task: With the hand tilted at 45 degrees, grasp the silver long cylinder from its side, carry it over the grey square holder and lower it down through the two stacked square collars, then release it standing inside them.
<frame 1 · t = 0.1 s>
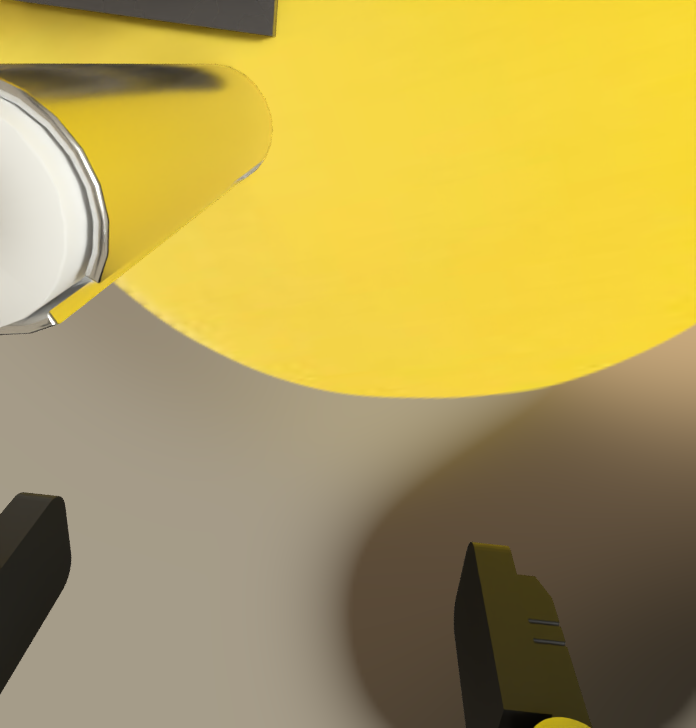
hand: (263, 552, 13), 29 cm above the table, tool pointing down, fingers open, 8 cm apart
silver long cylinder: (218, 125, 37), on the table
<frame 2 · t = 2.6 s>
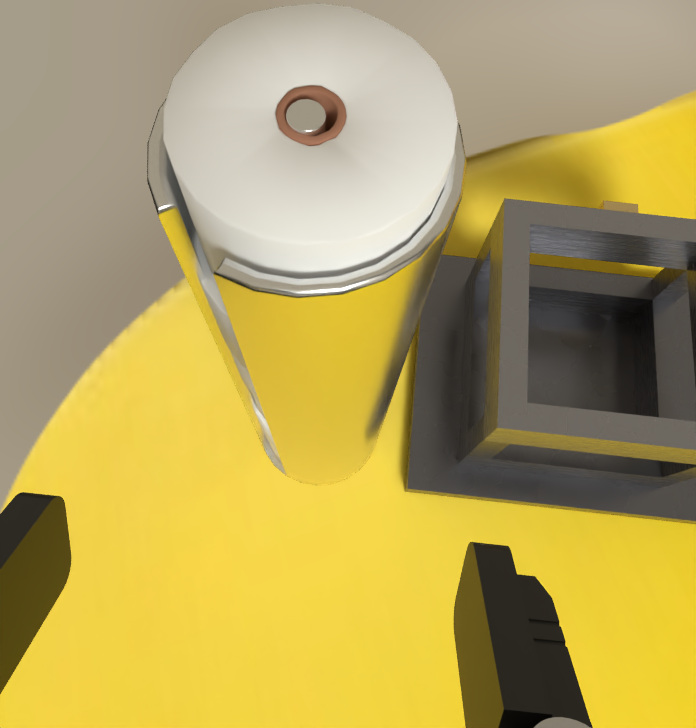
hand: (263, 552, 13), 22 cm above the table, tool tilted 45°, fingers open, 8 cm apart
grey square holder: (553, 384, 37), on the table
silver long cylinder: (319, 427, 36), on the table
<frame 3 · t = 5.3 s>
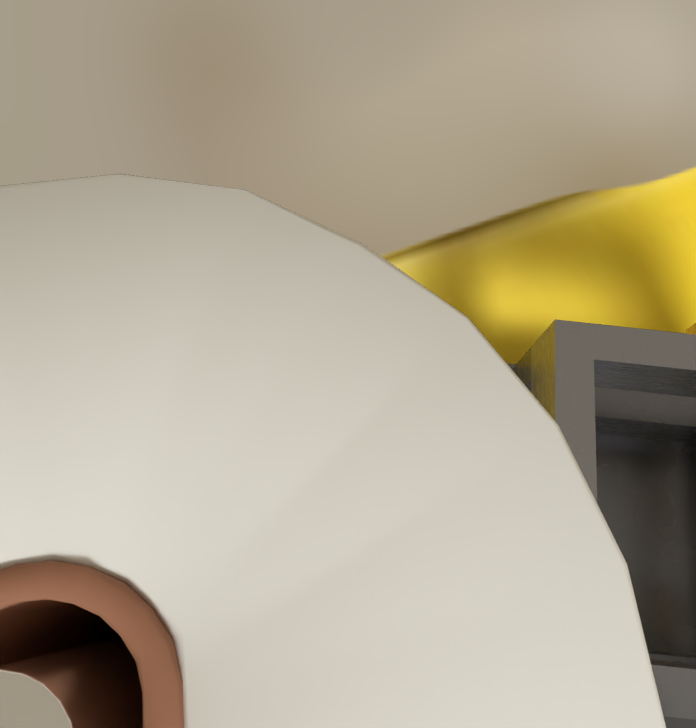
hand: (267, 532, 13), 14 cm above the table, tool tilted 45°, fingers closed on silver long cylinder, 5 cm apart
grey square holder: (607, 537, 27), on the table
silver long cylinder: (292, 603, 26), on the table, touching gripper
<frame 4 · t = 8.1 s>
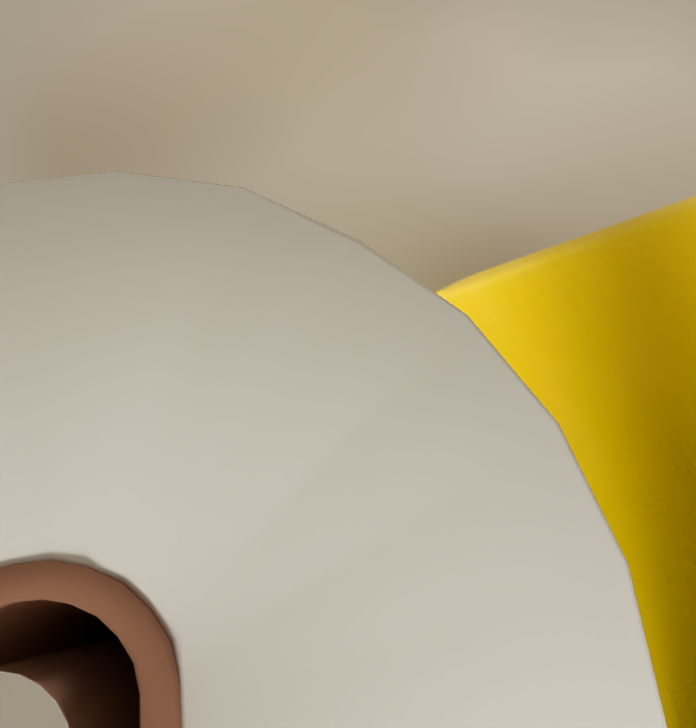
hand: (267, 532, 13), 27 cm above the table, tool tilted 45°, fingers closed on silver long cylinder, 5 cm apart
silver long cylinder: (293, 603, 26), point 12 cm above the table, touching gripper
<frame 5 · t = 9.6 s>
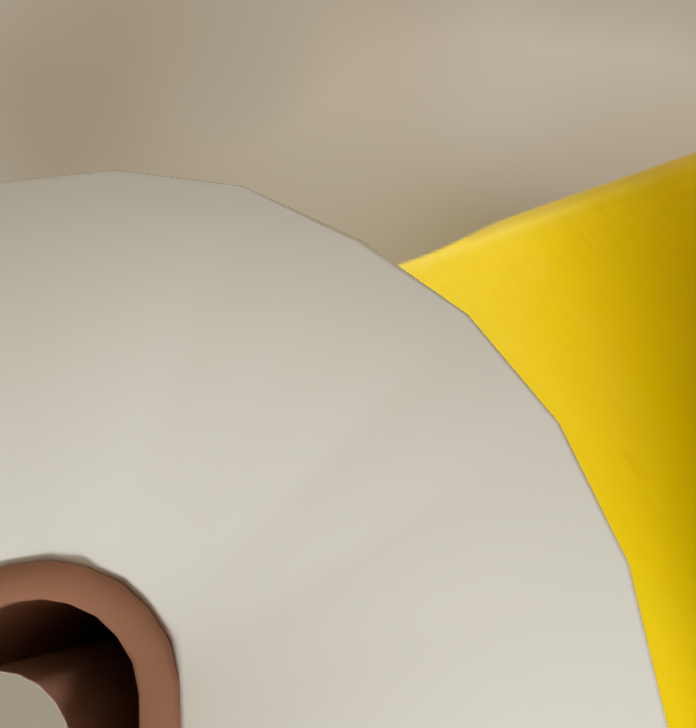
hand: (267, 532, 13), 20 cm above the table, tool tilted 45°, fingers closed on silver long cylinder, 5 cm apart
silver long cylinder: (293, 603, 26), point 5 cm above the table, touching gripper
when the fingers open (16 cm above the table, at t = 11.0 s): silver long cylinder stays where it is, resting on grey square holder.
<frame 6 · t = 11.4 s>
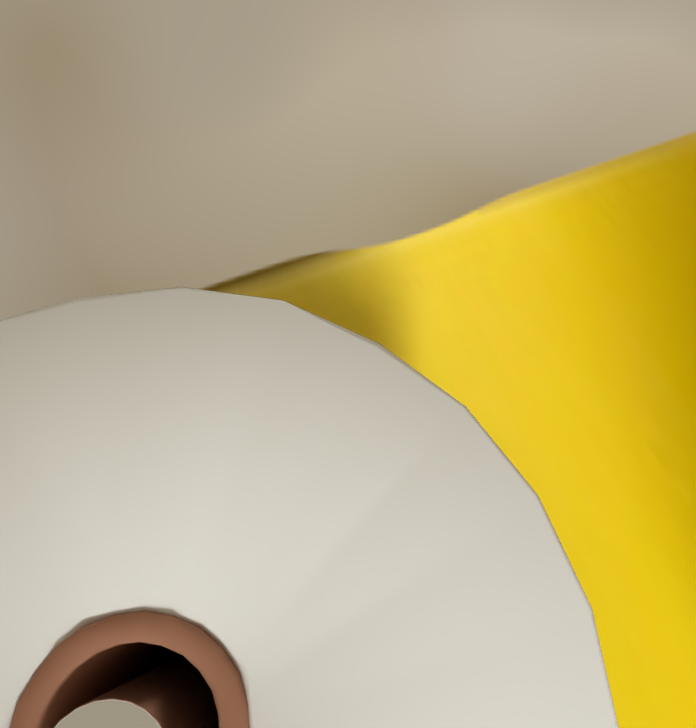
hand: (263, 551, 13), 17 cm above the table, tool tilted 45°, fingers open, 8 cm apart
silver long cylinder: (294, 608, 27), point 1 cm above the table, touching grey square holder
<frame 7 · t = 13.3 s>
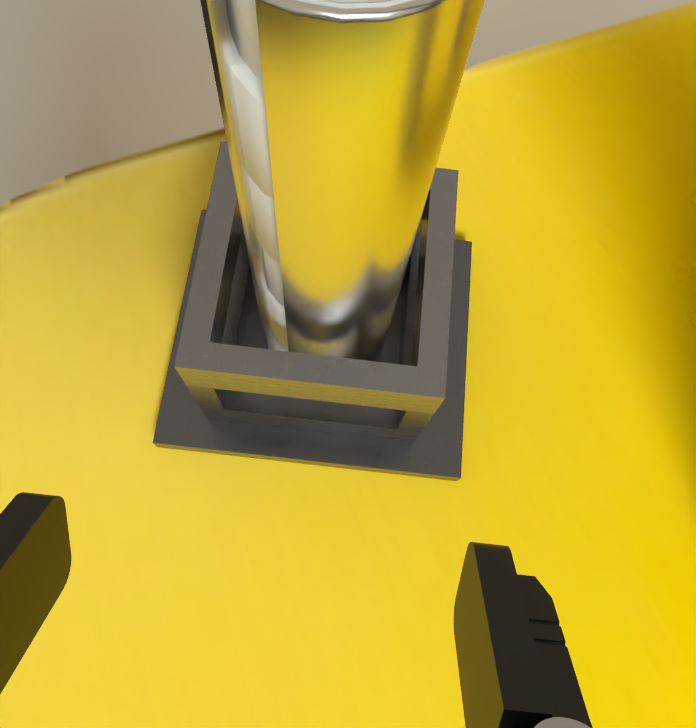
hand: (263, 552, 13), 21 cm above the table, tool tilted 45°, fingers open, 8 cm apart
grey square holder: (322, 341, 36), on the table
silver long cylinder: (324, 340, 36), point 1 cm above the table, touching grey square holder
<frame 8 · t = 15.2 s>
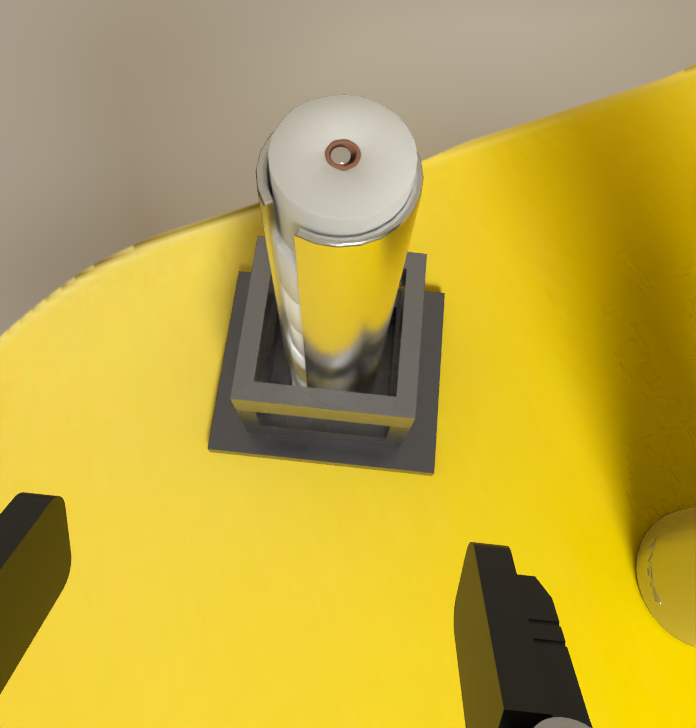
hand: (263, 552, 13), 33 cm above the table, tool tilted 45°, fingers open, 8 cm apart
grey square holder: (331, 371, 48), on the table
silver long cylinder: (332, 370, 48), point 1 cm above the table, touching grey square holder
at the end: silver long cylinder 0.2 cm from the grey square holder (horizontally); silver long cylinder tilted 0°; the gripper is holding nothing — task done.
